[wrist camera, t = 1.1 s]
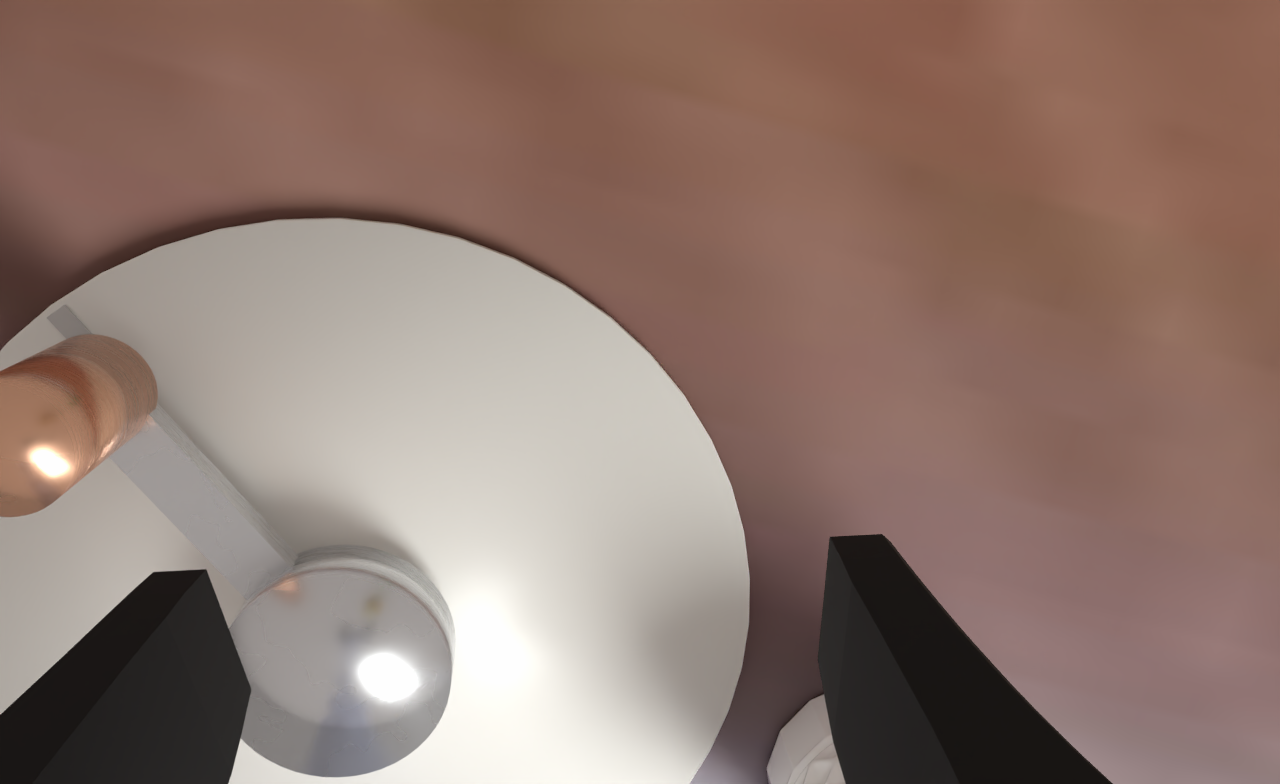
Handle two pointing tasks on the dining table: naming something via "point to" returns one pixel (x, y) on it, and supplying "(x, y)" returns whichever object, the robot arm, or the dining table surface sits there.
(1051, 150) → the dining table surface
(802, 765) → the white cup
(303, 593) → the white and tan pieces
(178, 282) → the white plate
